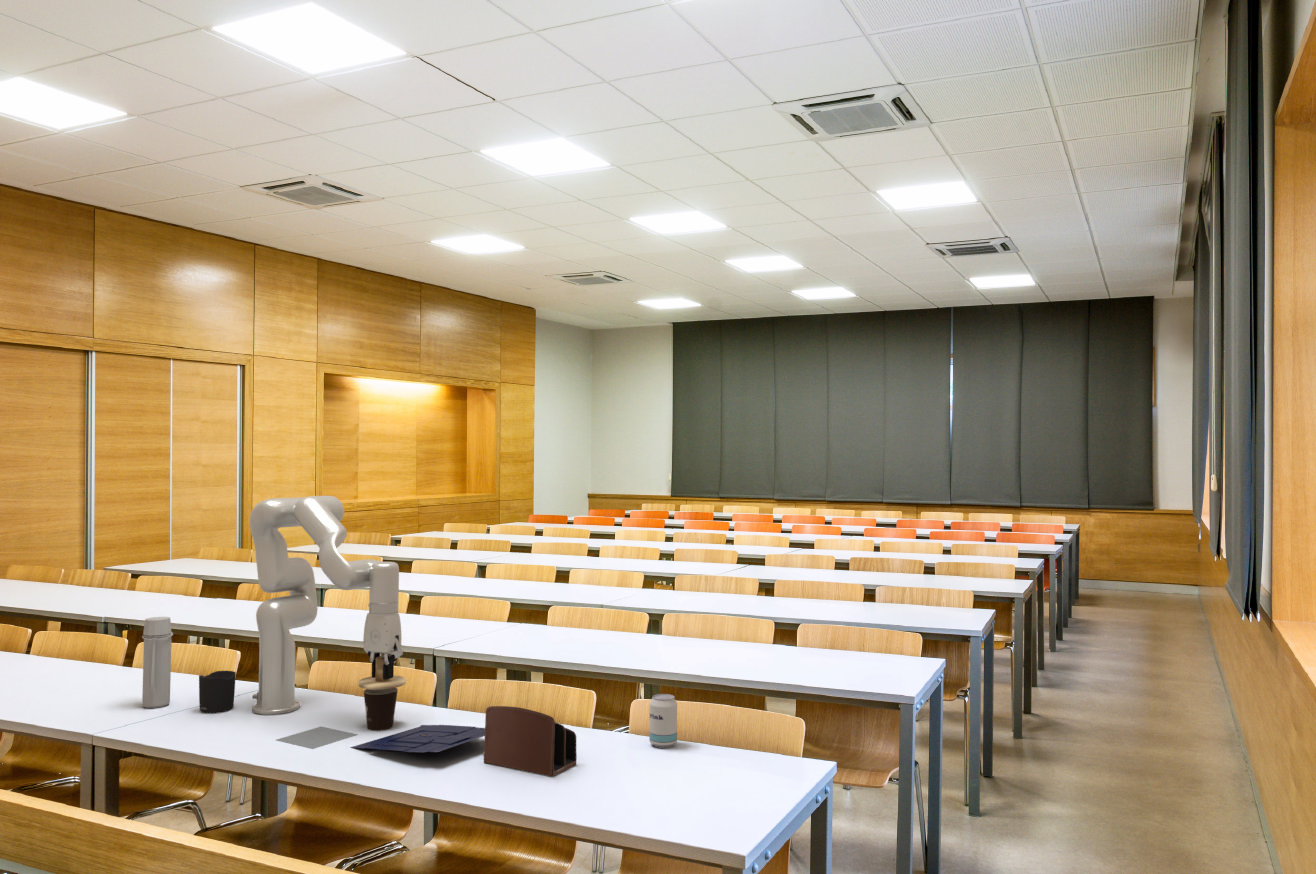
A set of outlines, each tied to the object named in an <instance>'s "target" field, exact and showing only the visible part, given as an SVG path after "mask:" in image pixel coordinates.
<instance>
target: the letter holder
mask: <svg viewBox="0 0 1316 874" xmlns="http://www.w3.org/2000/svg"><path fill="white" fill-rule="evenodd" d="M484 718H485V720H484V723H485V725H484V728H485V736H484V741H483V742H484V743H483V744H484V745H483V763H484V764H487V765H491V766H497V767H502V768H506V769H510V770H511V769H512V770H515V771H521V772H525V773H530V774H536V775H539V776H544V777H549V778H554V777H555V776H557V775H559V774H562V773H564V772H565V771H567V770H569V769H571V768H573V767H575V766H576V765H577V734H576V733H575V731H574V730H572V729H569V728H567V727H565V726H564V725H563V724H561V723H559V722H556V721H555V719H554V717H552V716H550V715H548V714H545V713H542V712H540V711H536V710H532V709H527V708H522V707H517V706H509V705H508V706H505V705H504V706H503V705H496V706H495V705H491V706H487V708H485V717H484Z"/></svg>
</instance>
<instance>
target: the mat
mask: <svg viewBox="0 0 1316 874" xmlns="http://www.w3.org/2000/svg"><path fill="white" fill-rule="evenodd" d="M358 735H359V734H357V733H353V732H349V731H345V730H340V729H334V728H330V727H325V726H318V727H314V728H311V729H308V730H304V731H300V732H297V733H293V734H290V735H287V736H283V737H281V738H276V739H275V741H277V742H281V743H286V744H291V745H293V746H297V747H303V748H307V749H310V750H314V749H317V748H320V747H324V746H326V745H331V744H333V743H336V742H339V741H342V740H345V739H349V738H352V737H356V736H358Z"/></svg>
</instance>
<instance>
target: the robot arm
mask: <svg viewBox="0 0 1316 874" xmlns="http://www.w3.org/2000/svg"><path fill="white" fill-rule="evenodd" d="M344 516H345V507H344V505H343V503H342V501H341V500H340V499H339V498H337V497H336V496H333V495H309V496H305V497H304V496H303V497H274V498H267V499H264V500H261V501H260V502H258V503H257V504H256V505H254V507H253V509H252V510H251V513H250V514H249V529H250V534H251V537H252V541H253V544H254V551H255V561H256V571H257V579H258V580H257V581H258V585H259V587H260V589H261V591H262V592H264V593H269V594H275V593H284V592H289V595H285V596H284V595H282V596H278V597H273V598H268V599H266V600H264V601H263V602H262V603H260V604H259V605H258V607H257V609H256V613H255V619H256V626H257V631H258V640H259V643H258V645H259V646H258V647H259V648H258V649H259V651H258V652H259V654H258V656H259V659H258V663H259V664H258V691H257V692H256V693H253V695H252V698H253V700H254V699H255V700H256V704H254V705H253V706H251V707H252V709H251V710H252V713H254V714H257V715H280V714H286V713H290V712H291V713H292V712H294V711H296V710H298V709H299V708H300V707H301V702H300V701H299V700H295V693H296V692H295V690H296V688H295V687H296V685H295V684H296V642H295V640H294V638H293V636H292V633H291V631H290V630H292V629H297V628H303V627H306V626H309V625H311V624H312V623H313V622H314V621H315V620H316V619H317V616H318V598H317V590H316V579H315V572H314V569H313V567H312V565H311V563H310V562H309V561H308V560H307V559H305V558H303V557H297V556H296V557H289V553H288V552H289V551H288V545H287V541H286V538H285V537H284V535H282V533H281V532H280V530H279V528H292V527H293V528H294V527H297V528H298V527H301V528H302V529H303V530H304V531H305V533H307V534H308V536H309V537H310V538H311V539H312V540H313V542H314V543H315V544H316V545H317V547H318V548H319V550H318V559H319V565H320V569H321V570H322V572H323V574H324V575H325V576H326V577H327V578H328V580H329V581H330V582H331V583H332V585H334V586H335V587H337V588H338V589H340V590H343V591H351V590H356V589H357V590H358V589H364V588H368V589H369V593H368V594H369V595H368V596H369V600H368V601H369V602H368V613H366V616H365V622H364V627H363V639H362V642H363V643H362V645H363V650H364V651H365V653H367V656H368V657H369V661H370V663H371V677H372V678H375V671H376V657H380V656H382V654H383V656H384V658H385V664H384V665H383V679H384V680H386V679H390V678H393V676H394V674H395V673H394V672H395V671H394V665H395V663H396V661H397V660H398V658H400V657H401V656H403V654H404V652H403V650H402V625H401V624H402V623H401V617H400V614H399V600H400V599H399V598H400V597H399V592H400V591H399V590H400V588H399V585H400V584H399V583H400V567H399V564H398V563H397V562H396V561H395V562H394V561H381V560H377V559H373V558H371V559H368V558H367V559H357V560H350V561H349V560H348V561H347V560H346V559H345V558H344V556H342V555H341V553H340V552H339V550H338V548H339V547H340V546H341V545H342V544H343V543H344V542H345V540H346V538H347V535H348V532H347V528H346V527H345V526H344V525H343V524H342V522H341V521H342V520H343V518H344Z"/></svg>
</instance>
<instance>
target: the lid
mask: <svg viewBox="0 0 1316 874" xmlns="http://www.w3.org/2000/svg"><path fill="white" fill-rule="evenodd" d="M384 664H385V658H384V655H381V656H380V657H376V671H375V678H372V676H368V677H365V678H361V679H359V680H358V687H359V688H360V689H364V690H366V689H373V690H379V689H391V688H399V687H402V686H404V685H406V683H407V682H406V677H404V676H401V675H397V674H395V675H394V676H393V678H390V679H386V680H384V679H383V665H384Z"/></svg>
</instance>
